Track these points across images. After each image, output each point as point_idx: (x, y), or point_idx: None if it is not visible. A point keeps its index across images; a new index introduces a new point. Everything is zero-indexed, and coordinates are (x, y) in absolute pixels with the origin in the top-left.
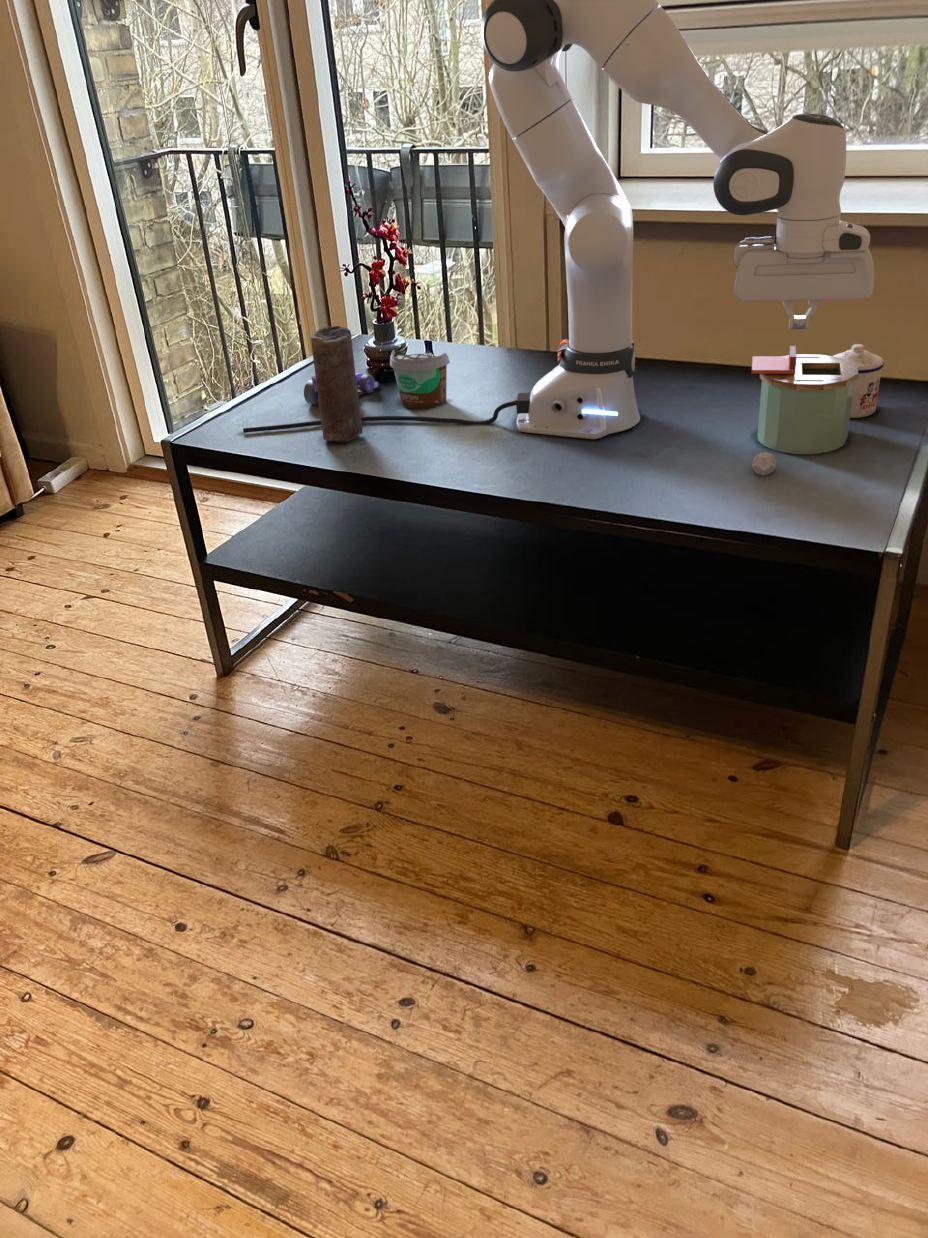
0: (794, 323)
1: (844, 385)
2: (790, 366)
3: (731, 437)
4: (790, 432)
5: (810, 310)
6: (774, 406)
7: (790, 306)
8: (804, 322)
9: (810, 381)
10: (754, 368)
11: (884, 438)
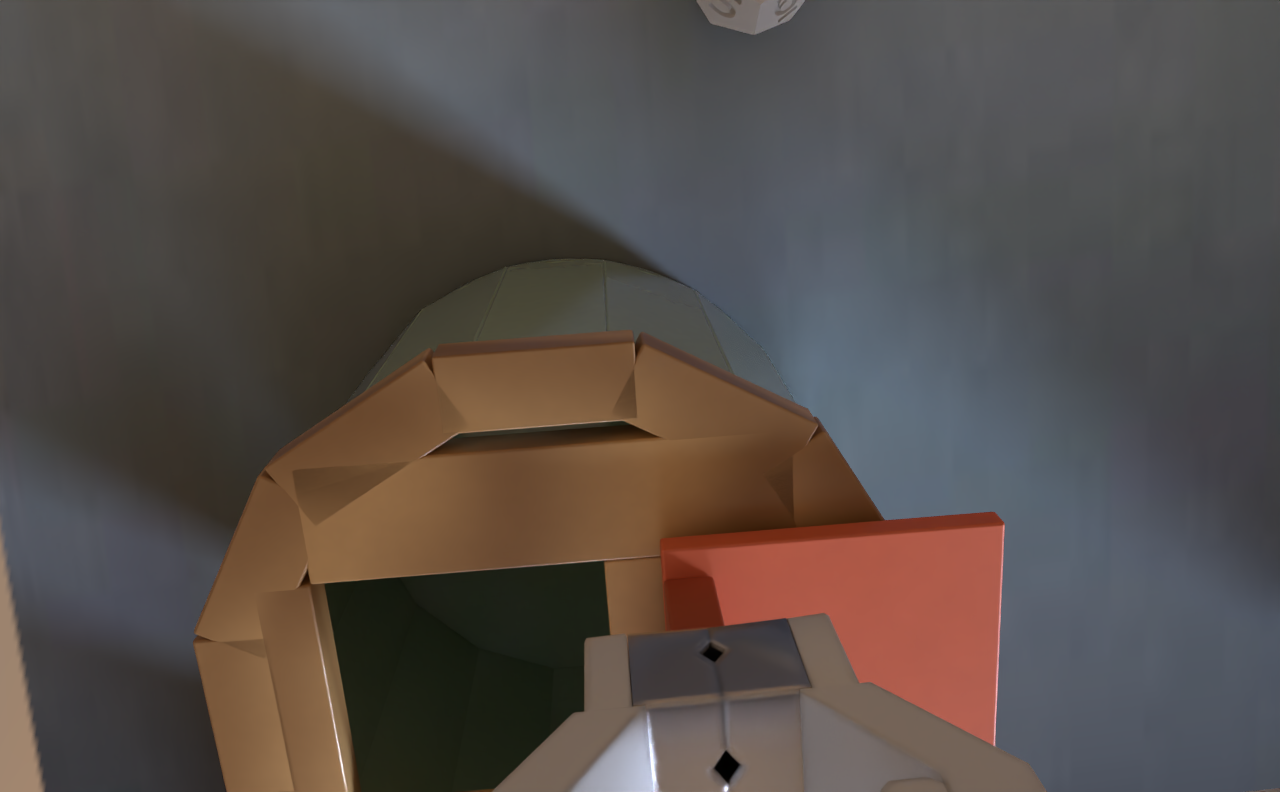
0: (777, 648)
1: (280, 451)
2: (705, 586)
3: (927, 434)
4: (630, 288)
5: (582, 789)
6: (757, 378)
7: (924, 789)
8: (647, 670)
9: (531, 414)
10: (982, 561)
11: (166, 528)
